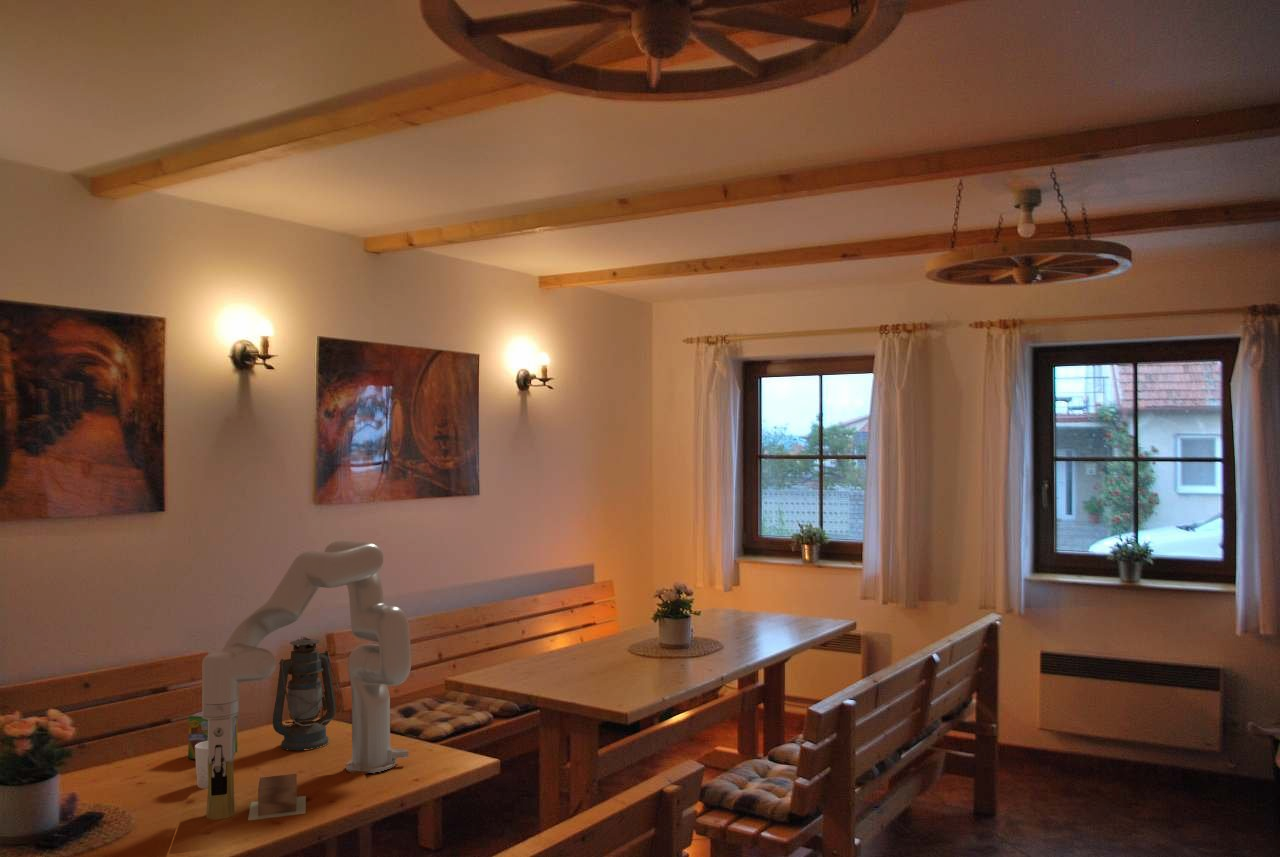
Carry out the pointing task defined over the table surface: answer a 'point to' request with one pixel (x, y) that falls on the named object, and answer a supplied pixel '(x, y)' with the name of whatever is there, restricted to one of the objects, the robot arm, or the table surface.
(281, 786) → the walnut block
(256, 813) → the baseplate
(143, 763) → the table surface
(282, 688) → the lantern
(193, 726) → the chalk box
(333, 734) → the table surface
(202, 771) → the white cup
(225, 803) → the vase
